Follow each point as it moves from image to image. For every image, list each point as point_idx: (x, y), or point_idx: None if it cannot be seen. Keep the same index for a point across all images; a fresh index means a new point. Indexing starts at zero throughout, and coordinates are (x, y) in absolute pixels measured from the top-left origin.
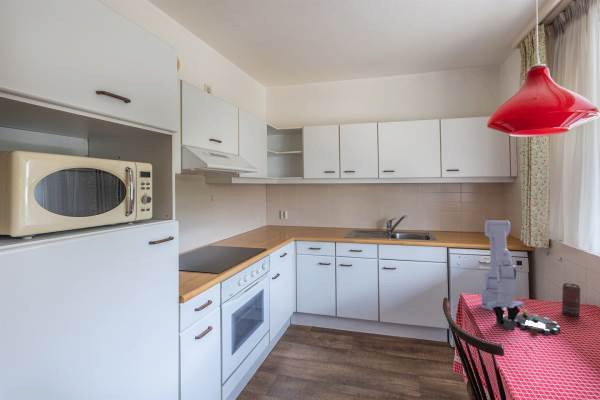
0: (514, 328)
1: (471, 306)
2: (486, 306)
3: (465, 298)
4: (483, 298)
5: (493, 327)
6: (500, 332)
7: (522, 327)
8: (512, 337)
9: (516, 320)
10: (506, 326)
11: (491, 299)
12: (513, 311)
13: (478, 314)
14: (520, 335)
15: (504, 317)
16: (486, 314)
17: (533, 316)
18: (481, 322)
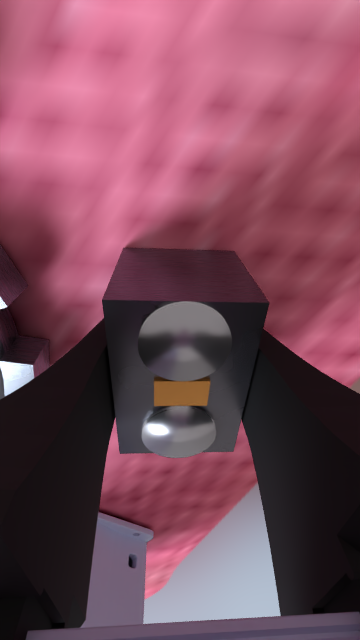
0: (124, 252)
1: (196, 540)
2: (124, 544)
3: (163, 585)
4: (134, 621)
5: (303, 312)
6: (334, 201)
7: (10, 269)
8: (309, 24)
9: (17, 380)
10: (228, 266)
11: (88, 622)
12: (53, 477)
13: (234, 479)
14: (144, 84)
15: (197, 391)
16: (179, 478)
17: None
18: None
